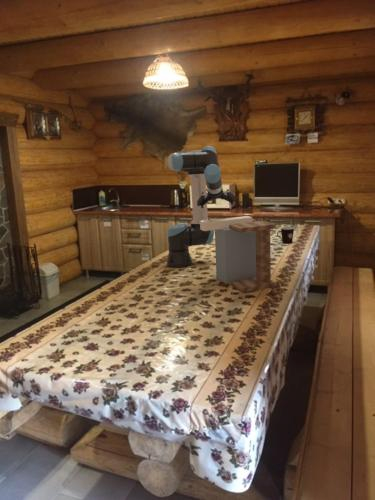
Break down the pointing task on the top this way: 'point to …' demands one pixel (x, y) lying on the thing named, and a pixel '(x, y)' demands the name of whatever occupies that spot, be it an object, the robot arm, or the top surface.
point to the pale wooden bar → (223, 223)
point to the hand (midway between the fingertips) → (217, 208)
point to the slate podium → (235, 255)
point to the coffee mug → (286, 234)
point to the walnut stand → (257, 256)
